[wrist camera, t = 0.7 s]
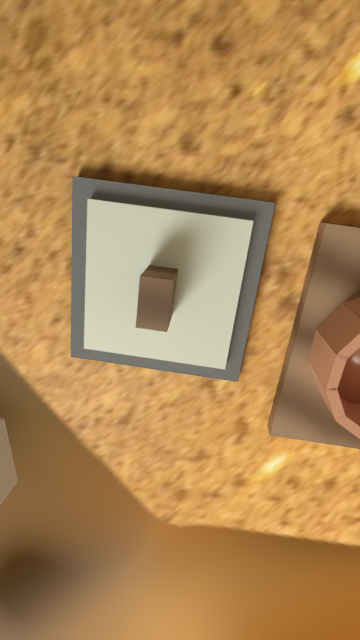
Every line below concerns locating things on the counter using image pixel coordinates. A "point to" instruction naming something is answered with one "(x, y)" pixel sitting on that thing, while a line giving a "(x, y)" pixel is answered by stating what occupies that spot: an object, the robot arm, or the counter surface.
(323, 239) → the board
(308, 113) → the counter surface
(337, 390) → the bowl
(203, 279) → the lid
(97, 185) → the mat
